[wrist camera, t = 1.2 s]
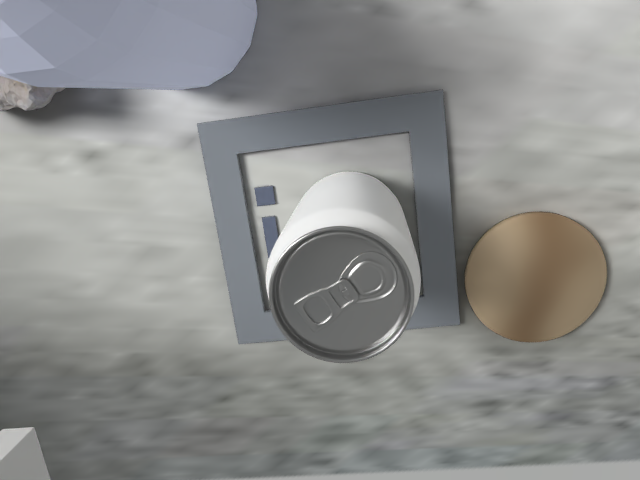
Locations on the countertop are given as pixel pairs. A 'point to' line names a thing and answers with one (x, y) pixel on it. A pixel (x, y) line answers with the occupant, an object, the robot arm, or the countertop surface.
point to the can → (344, 270)
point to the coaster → (535, 276)
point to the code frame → (318, 127)
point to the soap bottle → (123, 42)
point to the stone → (24, 95)
